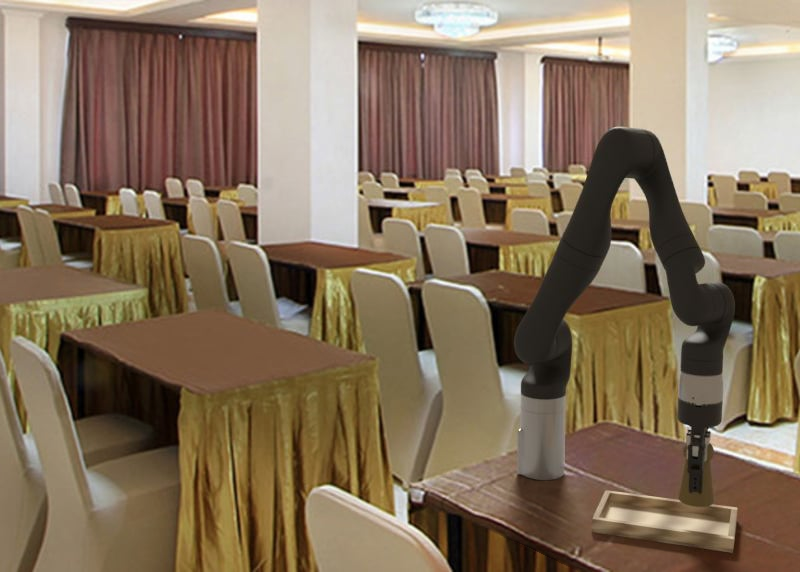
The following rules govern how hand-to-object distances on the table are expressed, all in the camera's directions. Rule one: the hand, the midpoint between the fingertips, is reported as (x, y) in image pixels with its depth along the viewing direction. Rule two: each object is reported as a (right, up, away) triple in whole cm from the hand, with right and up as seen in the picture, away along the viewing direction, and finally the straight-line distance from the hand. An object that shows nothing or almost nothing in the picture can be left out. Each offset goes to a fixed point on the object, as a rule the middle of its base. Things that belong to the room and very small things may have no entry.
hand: (696, 488), depth 170 cm
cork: (0, -2, 0) cm, 2 cm away
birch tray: (-5, -8, +3) cm, 9 cm away
